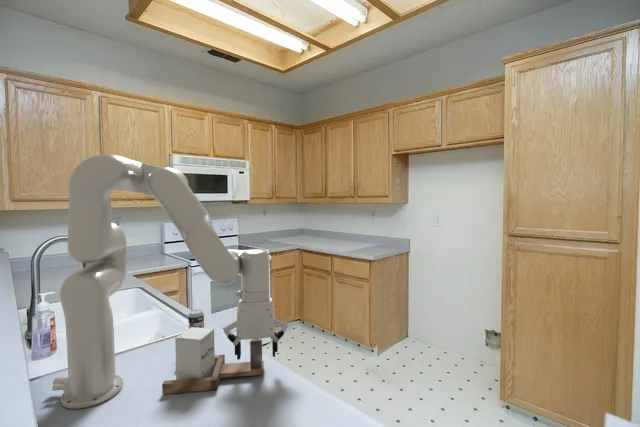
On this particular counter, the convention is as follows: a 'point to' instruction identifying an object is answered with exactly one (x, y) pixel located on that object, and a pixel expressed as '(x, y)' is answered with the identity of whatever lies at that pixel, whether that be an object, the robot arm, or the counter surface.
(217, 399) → the counter surface
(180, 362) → the supplement box
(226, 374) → the wooden cross board
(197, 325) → the beer can
